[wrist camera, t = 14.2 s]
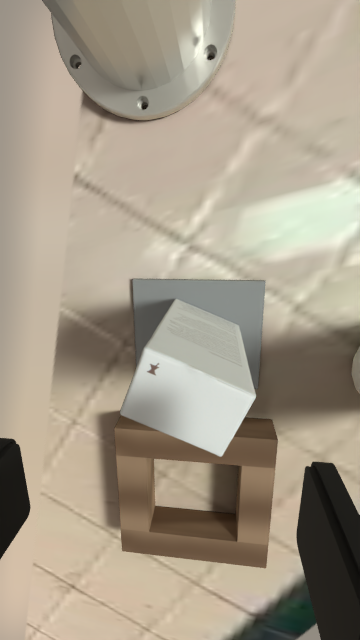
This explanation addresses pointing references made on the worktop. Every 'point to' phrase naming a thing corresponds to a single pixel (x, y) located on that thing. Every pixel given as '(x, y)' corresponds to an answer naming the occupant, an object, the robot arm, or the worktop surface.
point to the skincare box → (192, 379)
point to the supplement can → (356, 370)
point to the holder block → (193, 525)
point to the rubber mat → (209, 295)
